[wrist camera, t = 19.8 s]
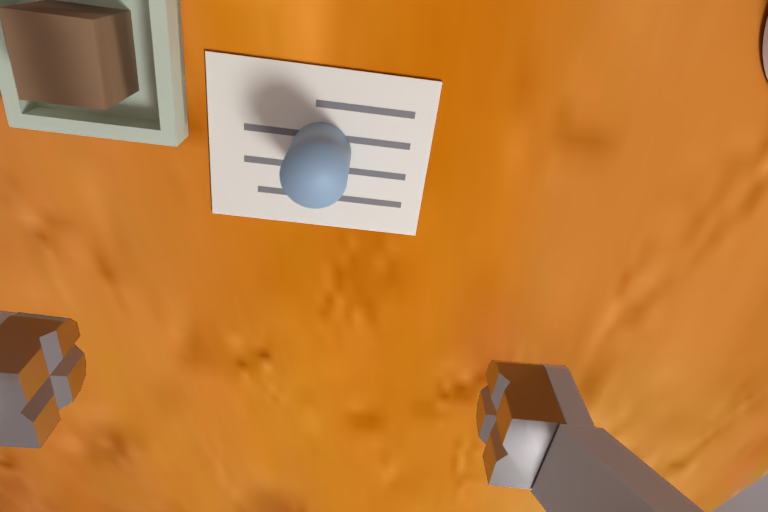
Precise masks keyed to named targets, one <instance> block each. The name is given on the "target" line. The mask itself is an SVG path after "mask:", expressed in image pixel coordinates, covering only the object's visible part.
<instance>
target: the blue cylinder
mask: <svg viewBox="0 0 768 512" xmlns="http://www.w3.org/2000/svg"><path fill="white" fill-rule="evenodd" d="M350 160H351V146H350V143H349V141H348V139H347V137H346V136H345V134H344V133H343V132H342V131H341V130H340V129H338V128H337V127H335V126H333V125H331V124H328V123H323V122H316V123H311V124H308V125H306V126H304V127H303V128H301V129H300V130H299V131H298V132H297V133H296V135H295V137H294V138H293V141H292V143H291V145H290V147H289V149H288V151H287V153H286V155H285V157H284V160H283V162H282V164H281V167H280V173H279V176H280V183H281V186H282V188H283V190H284V192H285V193H286V195H287V196H288V197H289V198H290V199H291V200H292V201H294V202H295V203H297V204H299V205H301V206H303V207H307V208H312V209H319V208H325V207H328V206H330V205H332V204H334V203H335V202H337V201H338V200H339V199H340V198H341V196H342V195H343V193H344V191H345V189H346V186H347V180H348V173H349V167H350Z"/></svg>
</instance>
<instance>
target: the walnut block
mask: <svg viewBox="0 0 768 512" xmlns="http://www.w3.org/2000/svg"><path fill="white" fill-rule="evenodd" d="M0 17H1V21H2V26H3V30H4V35H5V39H6V44H7V48H8V53H9V57H10V61H11V66H12V70H13V75H14V79H15V84H16V88H17V92H18V97H19V100H26V101H34V102H42V103H50V104H59V105H67V106H75V107H83V108H92V109H100V110H107V109H109V108H110V107H112V106H114V105H116V104H117V103H119V102H121V101H122V100H124V99H126V98H128V97H129V96H131V95H133V94H134V93H136V92H138V91H139V83H138V74H137V64H136V55H135V46H134V37H133V28H132V19H131V10H123V9H116V8H109V7H101V6H94V5H86V4H79V3H71V2H64V1H56V0H42V1H36V2H29V3H23V4H16V5H10V6H3V7H0Z"/></svg>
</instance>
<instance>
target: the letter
mask: <svg viewBox="0 0 768 512" xmlns="http://www.w3.org/2000/svg"><path fill="white" fill-rule="evenodd" d="M205 59H206V81H207V103H208V126H209V148H210V170H211V192H212V213H216V214H226V215H235V216H244V217H253V218H262V219H271V220H280V221H289V222H298V223H307V224H316V225H325V226H334V227H343V228H352V229H361V230H370V231H379V232H388V233H397V234H406V235H415V234H416V228H417V223H418V217H419V211H420V206H421V200H422V194H423V189H424V183H425V177H426V172H427V166H428V160H429V155H430V149H431V143H432V138H433V132H434V127H435V121H436V115H437V110H438V104H439V98H440V93H441V87H442V81H434V80H427V79H419V78H411V77H404V76H396V75H388V74H381V73H373V72H365V71H358V70H350V69H342V68H335V67H327V66H319V65H312V64H304V63H296V62H289V61H281V60H273V59H266V58H258V57H250V56H242V55H235V54H227V53H219V52H212V51H205ZM316 122H323V123H328V124H331V125H333V126H335V127H337V128H338V129H340V130H341V131H342V132H343V133H344V134H345V136H346V137H347V139H348V141H349V143H350V146H351V160H350V167H349V173H348V180H347V186H346V189H345V191H344V193H343V195H342V196H341V198H340V199H339V200H338V201H337V202H335V203H334V204H332V205H330V206H328V207H325V208H319V209H312V208H307V207H303V206H301V205H299V204H297V203H295V202H294V201H292V200H291V199H290V198H289V197H288V196H287V195H286V193H285V192H284V190H283V188H282V186H281V183H280V176H279V173H280V167H281V164H282V162H283V160H284V157H285V155H286V153H287V151H288V149H289V147H290V145H291V143H292V141H293V138H294V137H295V135H296V133H297V132H298V131H299V130H300V129H301V128H303V127H304V126H306V125H308V124H311V123H316Z"/></svg>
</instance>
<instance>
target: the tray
mask: <svg viewBox="0 0 768 512" xmlns="http://www.w3.org/2000/svg"><path fill="white" fill-rule="evenodd" d="M36 1H42V0H0V7H3V6H10V5H16V4H23V3H29V2H36ZM56 1H64V2H71V3H79V4H86V5H94V6H101V7H109V8H116V9H123V10H131V19H132V28H133V37H134V46H135V55H136V64H137V74H138V83H139V91H138V92H136V93H134V94H133V95H131V96H129V97H128V98H126V99H124V100H122V101H121V102H119V103H117V104H116V105H114V106H112V107H110V108H109V109H107V110H100V109H92V108H83V107H75V106H67V105H59V104H50V103H42V102H34V101H26V100H19V97H18V92H17V88H16V84H15V79H14V75H13V70H12V66H11V61H10V57H9V53H8V48H7V44H6V39H5V35H4V30H3V26H2V21H1V17H0V90H1V94H2V99H3V103H4V107H5V111H6V115H7V119H8V123H9V127H15V128H23V129H31V130H40V131H48V132H57V133H65V134H74V135H82V136H91V137H99V138H108V139H116V140H125V141H133V142H142V143H150V144H158V145H167V146H175V147H177V146H178V145H179V144H180V143H181V142H182V141H183V140H184V139H185V138H186V137H188V136H189V133H188V117H187V102H186V86H185V71H184V56H183V40H182V25H181V10H180V0H56Z"/></svg>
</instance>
